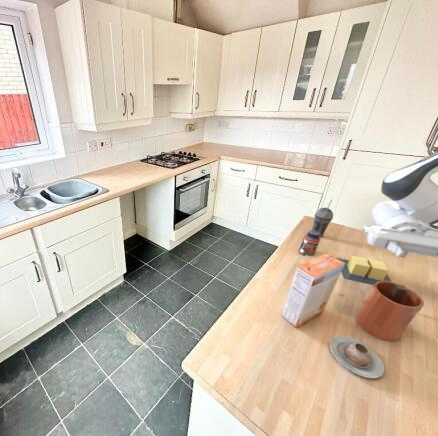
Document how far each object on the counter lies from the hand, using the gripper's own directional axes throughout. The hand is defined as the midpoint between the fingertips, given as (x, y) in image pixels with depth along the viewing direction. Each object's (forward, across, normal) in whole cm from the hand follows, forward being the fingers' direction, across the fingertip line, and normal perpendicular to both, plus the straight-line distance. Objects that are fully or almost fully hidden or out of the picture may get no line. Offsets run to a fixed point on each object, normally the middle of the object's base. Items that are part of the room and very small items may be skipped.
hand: (427, 259), depth 61 cm
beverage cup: (-54, -10, +28) cm, 62 cm away
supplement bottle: (-36, -16, +28) cm, 48 cm away
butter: (-29, +3, +28) cm, 40 cm away
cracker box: (+2, -21, +28) cm, 35 cm away
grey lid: (+13, -9, +28) cm, 32 cm away
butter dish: (-29, +3, +28) cm, 40 cm away
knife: (-2, 0, +27) cm, 27 cm away
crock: (-2, 0, +28) cm, 28 cm away
